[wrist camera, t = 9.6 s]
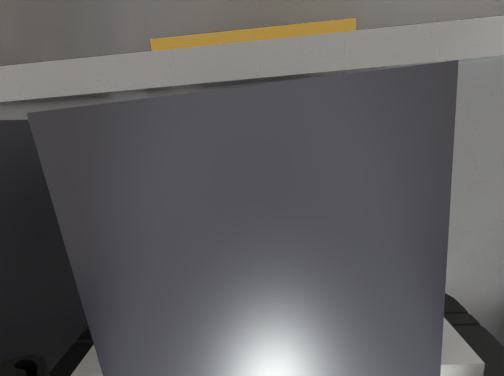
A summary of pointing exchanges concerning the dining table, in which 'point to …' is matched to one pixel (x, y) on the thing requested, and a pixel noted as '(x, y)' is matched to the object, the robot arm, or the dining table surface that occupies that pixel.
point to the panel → (261, 224)
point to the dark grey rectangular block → (32, 258)
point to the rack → (319, 65)
